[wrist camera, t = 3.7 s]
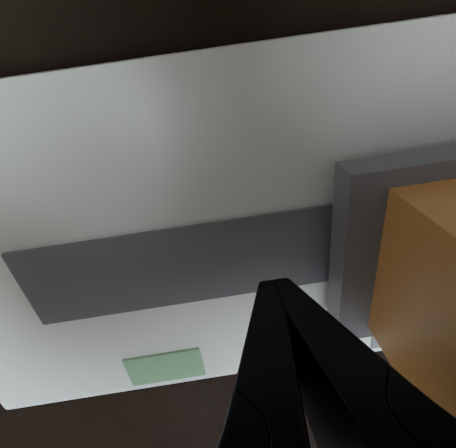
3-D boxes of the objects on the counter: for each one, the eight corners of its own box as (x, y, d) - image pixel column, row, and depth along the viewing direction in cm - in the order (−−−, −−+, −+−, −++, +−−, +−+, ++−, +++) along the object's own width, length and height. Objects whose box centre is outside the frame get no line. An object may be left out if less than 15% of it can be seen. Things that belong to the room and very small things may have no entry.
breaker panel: (600, -9, 9) (702, -22, 7) (480, 296, 15) (520, 331, 13) (-163, 100, 9) (-258, 116, 7) (28, 367, 15) (5, 412, 13)
